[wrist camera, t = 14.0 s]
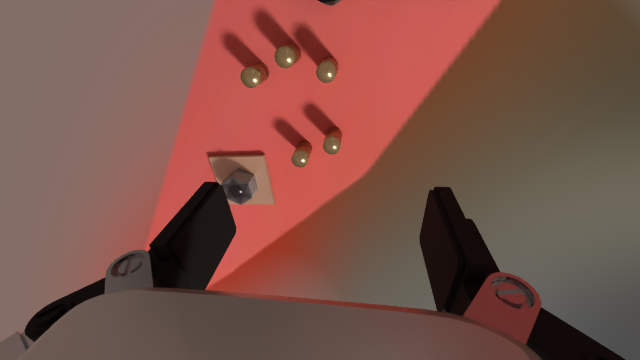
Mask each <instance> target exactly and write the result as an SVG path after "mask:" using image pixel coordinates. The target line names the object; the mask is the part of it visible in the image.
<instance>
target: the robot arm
mask: <svg viewBox="0 0 640 360" xmlns="http://www.w3.org/2000/svg"><path fill="white" fill-rule="evenodd" d="M235 233H236V225H235V222H234V219H233V216H232V213H231V210H230V207H229V203H228V200H227V197H226V194H225V191H224V188H223V186H222V185H220V184H219V183H218V182H204V183H203V184H202V186H201V187H200V188H199V189H198V190H197V191H196V192H195V194H194V195H193V196H192V197H191V198H190V199H189V200H188V202H187V203H186V204H185V205H184V206H183V207H182V208H181V209H180V211H179V212H178V213H177V214H176V215H175V216H174V217H173V219H172V220H171V221H170V222H169V223H168V224H167V225H166V227H165V228H164V229H163V230H162V231H161V232H160V233H159V235H158V236H157V237H156V238H155V239H154V240H153V241H152V243H151V244H150V245H149V246H150V247H151V249H150V250H149V251H148V252H147V251H145V250H134V251H131V252H128V253H126V254H124V255H122V256H120V257H119V258H117V259H116V260H115V261H114V262H113V263H112V264H111V265H110V266H109V267H108V269H107V272H106V277H105V278H103V279H101V280H99V281H97V282H95V283H93V284H91V285H88V286H86V287H84V288H82V289H80V290H78V291H75V292H73V293H71V294H69V295H67V296H65V297H63V298H61V299H58V300H56V301H54V302H52V303H51V304H49V305H47V306H45V307H44V308H43V309H41V310H40V311H39V312H37V313H36V314H35V315H34V316H33V317H32V319H31V320H30V321H29V322H28V324H27V326H26V328H25V332H23V333H21V334H20V333H19V332H16V333H14V334H13V335H11V336H10V337H8V338H7V339H5V340H3V341H2V342H0V360H625V359H623V358H622V357H621V356H619V355H617V354H616V353H614V352H613V351H611V350H609V349H608V348H606V347H605V346H603V345H601V344H600V343H598V342H596V341H595V340H593V339H592V338H590V337H588V336H587V335H585V334H583V333H582V332H580V331H579V330H577V329H575V328H574V327H572V326H570V325H569V324H567V323H566V322H564V321H562V320H561V319H559V318H558V317H556V316H554V315H553V314H551V313H550V312H548V311H546V310H545V309H543V308H541V299H540V297H539V294H538V293H537V292H536V290H535V289H534V288H533V287H532V286H531V285H530V284H529V283H528V282H526V281H525V280H523V279H521V278H520V277H517V276H515V275H512V274H509V273H504V272H500V271H499V269H498V267H497V265H496V263H495V261H494V259H493V257H492V256H491V254H490V252H489V250H488V248H487V246H486V244H485V242H484V240H483V239H482V237H481V235H480V233H479V231H478V229H477V227H476V225H475V223H474V222H473V220H471V219H466V218H465V216H464V214H463V212H462V210H461V208H460V206H459V204H458V202H457V200H456V198H455V196H454V194H453V192H452V190H451V189H450V187H435V188H434V190H430V191H429V194H428V198H427V203H426V208H425V213H424V218H423V222H422V228H421V232H420V245H421V249H422V253H423V257H424V261H425V265H426V268H427V273H428V277H429V280H430V284H431V288H432V292H433V296H434V300H435V304H436V308H437V311H432V310H426V309H417V308H408V307H398V306H389V305H378V304H367V303H356V302H344V301H333V300H321V299H310V298H297V297H285V296H273V295H260V294H248V293H236V292H223V291H210V290H205V289H206V287H207V285H208V283H209V281H210V280H211V278H212V276H213V274H214V272H215V270H216V269H217V267H218V265H219V263H220V261H221V259H222V258H223V256H224V254H225V252H226V250H227V248H228V246H229V245H230V243H231V241H232V239H233V237H234V235H235Z"/></svg>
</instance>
